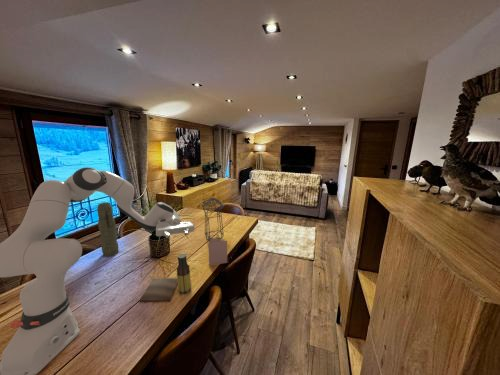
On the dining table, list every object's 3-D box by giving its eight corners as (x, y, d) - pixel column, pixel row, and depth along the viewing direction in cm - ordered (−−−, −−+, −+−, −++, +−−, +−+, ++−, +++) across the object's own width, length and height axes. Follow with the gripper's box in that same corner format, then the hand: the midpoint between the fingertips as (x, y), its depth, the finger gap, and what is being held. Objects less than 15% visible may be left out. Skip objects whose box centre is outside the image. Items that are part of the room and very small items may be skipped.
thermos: (109, 259, 125) (102, 206, 117) (98, 254, 129) (90, 204, 122) (123, 252, 132) (117, 203, 125) (112, 248, 137) (105, 200, 130)
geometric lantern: (226, 243, 148) (225, 199, 140) (205, 247, 142) (203, 201, 134) (221, 234, 162) (220, 193, 154) (202, 237, 157) (200, 195, 148)
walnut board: (170, 301, 92) (169, 299, 92) (139, 302, 91) (139, 300, 91) (179, 280, 107) (179, 278, 107) (153, 280, 106) (152, 278, 106)
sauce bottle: (191, 285, 103) (189, 251, 99) (191, 294, 97) (189, 258, 93) (178, 287, 102) (176, 252, 97) (177, 296, 96) (175, 260, 91)
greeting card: (227, 261, 125) (227, 240, 122) (223, 268, 118) (222, 246, 115) (211, 258, 128) (211, 237, 125) (206, 265, 121) (205, 243, 118)
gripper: (191, 226, 121) (197, 237, 109) (155, 231, 111) (156, 243, 99) (191, 217, 119) (197, 227, 108) (154, 221, 109) (156, 232, 98)
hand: (177, 235), depth 103 cm, fingers open, 8 cm apart
